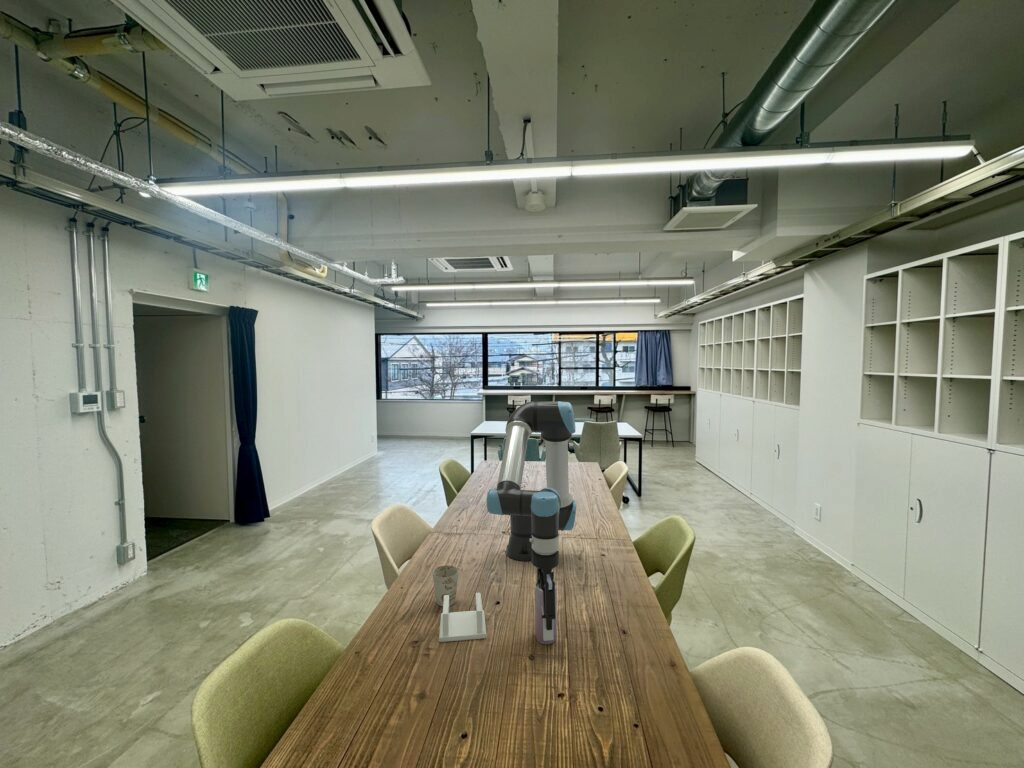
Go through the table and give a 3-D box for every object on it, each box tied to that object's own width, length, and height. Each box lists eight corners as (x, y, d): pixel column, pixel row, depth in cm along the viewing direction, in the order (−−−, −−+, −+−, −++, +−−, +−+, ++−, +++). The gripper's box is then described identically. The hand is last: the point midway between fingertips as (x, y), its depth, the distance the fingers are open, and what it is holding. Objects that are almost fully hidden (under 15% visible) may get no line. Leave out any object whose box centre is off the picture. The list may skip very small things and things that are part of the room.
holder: (441, 617, 129) (440, 593, 128) (483, 613, 130) (483, 590, 130) (439, 642, 117) (438, 616, 117) (486, 638, 118) (486, 612, 118)
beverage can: (555, 631, 121) (554, 579, 121) (558, 644, 115) (557, 590, 115) (534, 632, 121) (533, 580, 120) (536, 645, 115) (535, 591, 114)
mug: (434, 610, 132) (433, 578, 132) (430, 590, 144) (430, 561, 144) (460, 606, 135) (460, 575, 134) (455, 587, 147) (454, 558, 146)
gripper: (526, 536, 126) (527, 612, 127) (538, 566, 107) (538, 655, 108) (551, 535, 127) (551, 610, 128) (567, 564, 108) (567, 653, 109)
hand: (545, 631), depth 118 cm, fingers open, 6 cm apart
